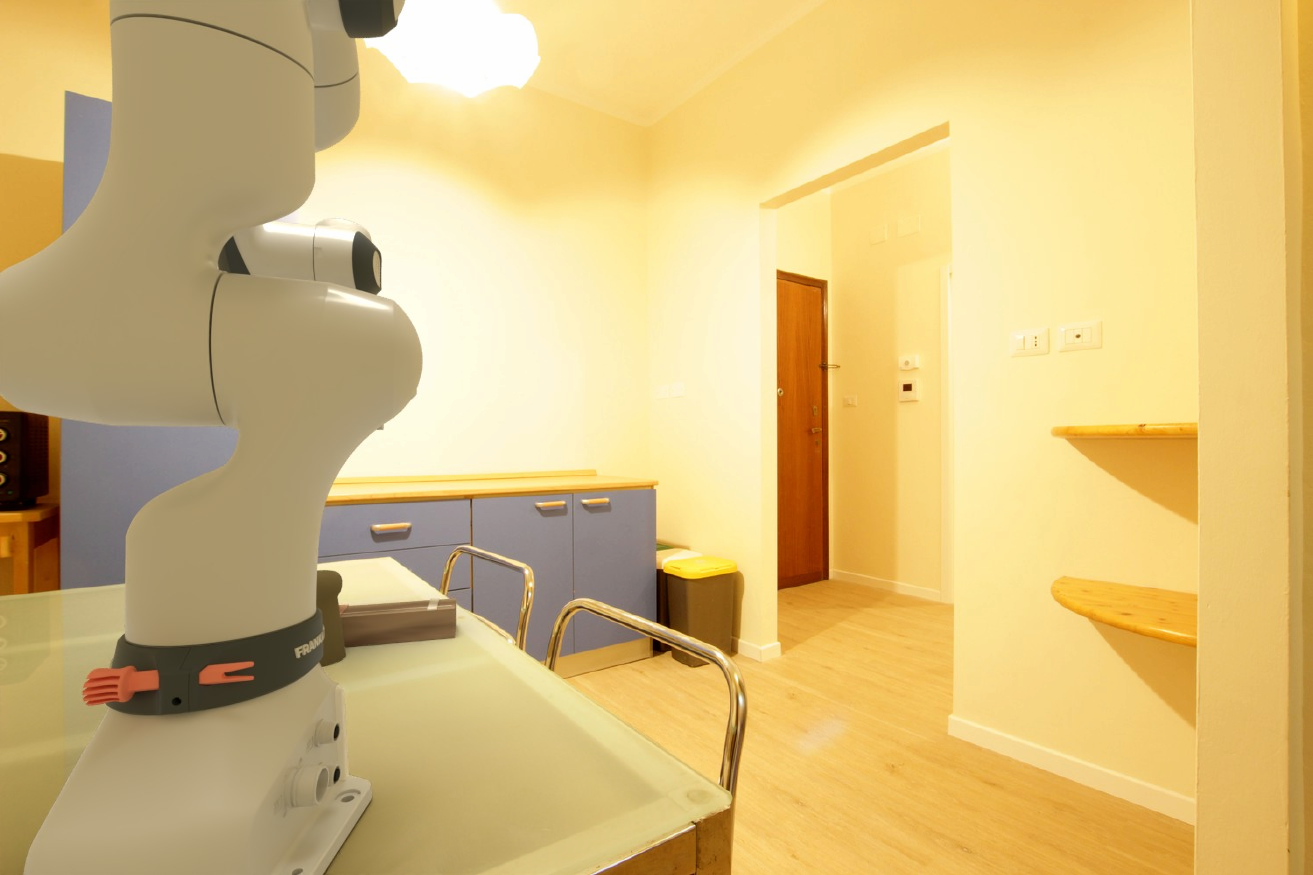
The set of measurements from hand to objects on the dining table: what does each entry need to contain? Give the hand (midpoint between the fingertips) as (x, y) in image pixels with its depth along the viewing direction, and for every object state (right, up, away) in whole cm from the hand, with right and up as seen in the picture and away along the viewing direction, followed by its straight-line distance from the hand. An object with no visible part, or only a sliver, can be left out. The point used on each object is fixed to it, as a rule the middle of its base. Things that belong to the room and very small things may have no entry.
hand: (342, 429), depth 89 cm
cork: (+4, -29, -13) cm, 32 cm away
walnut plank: (+7, -29, -4) cm, 30 cm away
